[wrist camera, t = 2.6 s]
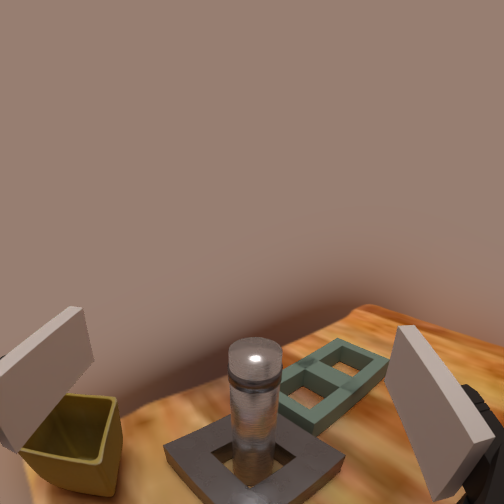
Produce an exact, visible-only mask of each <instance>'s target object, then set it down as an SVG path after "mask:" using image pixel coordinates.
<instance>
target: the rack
mask: <svg viewBox="0 0 504 504" xmlns="http://www.w3.org/2000/svg"><path fill="white" fill-rule="evenodd" d="M339 361H340V362H342V363H345V364H347V365H349V366H351V367H353V368H355V369H358V370H360V372H358V373H357V374H356V375H355V376H353V377H351V376H349V375H347V374H345V373H343V372H341V371H339V370H337V369H334V368H332V366H333V365H335V364H336V363H338V362H339ZM389 361H390V359H387V358H385V357H382V356H380V355H377V354H375V353H372V352H370V351H368V350H365V349H363V348H360V347H358V346H356V345H353V344H351V343H348V342H346V341H344V340H341V339H339V338H336V339H335V340H333V341H331V342H330V343H328V344H327V345H325V346H323V347H322V348H320V349H318V350H317V351H315V352H313V353H311V354H310V355H308V356H306V357H305V358H303V359H301V360H299V361H298V362H296V363H294V364H292V365H290V366H289V367H287V368H285V369H283V370H282V380H281V383H280V391H279V404H278V413H279V414H281V415H282V416H284V417H285V418H287V419H288V420H290V421H291V422H293V423H294V424H296V425H297V426H299V427H300V428H302V429H303V430H305V431H307V432H308V433H310V434H311V435H313V436H315V437H317V436H318V435H319V434H320V433H322V432H323V431H324V430H325V429H327V428H328V427H329V426H330V425H332V424H333V423H334V422H335V421H336V420H338V419H339V418H340V417H341V416H342V415H344V414H345V413H346V412H347V411H348V410H349V409H350V408H352V407H353V406H354V405H355V404H356V403H357V402H358V401H359V400H361V399H362V398H363V397H364V396H365V395H366V394H367V393H368V392H369V391H370V390H371V389H372V388H374V387H375V386H376V385H377V384H378V383H379V382H380V381H381V380H382V379H383V378H384V377H385V376H386V372H387V369H388V365H389ZM302 386H305V387H306V388H308V389H310V390H312V391H313V392H315V393H317V394H319V395H321V396H322V397H324V398H325V399H324V400H322V401H321V402H320V403H318V404H317V405H316V406H314V407H313V408H311V409H310V410H309V409H308V408H306V407H304V406H303V405H301V404H299V403H298V402H296V401H295V400H293V399H291V398H290V397H288V396H287V395H289V394H290V393H292V392H294V391H295V390H297V389H298V388H300V387H302Z"/></svg>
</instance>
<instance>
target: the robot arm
mask: <svg viewBox="0 0 504 504" xmlns="http://www.w3.org/2000/svg"><path fill="white" fill-rule="evenodd" d="M93 362H94V358H93V353H92V349H91V345H90V340H89V335H88V331H87V326H86V321H85V316H84V311H83V308H79V307H73V306H69V307H68V308H66V309H65V310H64V311H63V312H61V313H60V314H58V315H57V316H56V317H54V318H53V319H52V320H50V321H49V322H48V323H47V324H45V325H44V326H43V327H41V328H40V329H39V330H37V331H36V332H35V333H34V334H32V335H31V336H30V337H28V338H27V339H26V340H25V341H23V342H22V343H21V344H19V345H18V346H17V347H16V348H15V349H13V350H12V351H11V352H10V353H8V354H6V355H4V356H2V357H1V358H0V442H1V444H2V445H3V447H5V448H7V449H9V450H11V451H12V452H14V453H16V454H17V453H18V452H19V451H20V449H21V448H22V447H23V446H24V444H25V443H26V442H27V440H28V439H29V438H30V437H31V436H32V434H33V433H34V432H35V431H36V429H37V428H38V427H39V426H40V424H41V423H42V422H43V421H44V420H45V418H46V417H47V416H48V415H49V413H50V412H51V411H52V410H53V409H54V407H55V406H56V405H57V404H58V403H59V402H60V400H61V399H62V398H63V397H64V396H65V394H66V393H67V392H68V391H69V390H70V388H71V387H72V386H73V385H74V384H75V383H76V381H77V380H78V379H79V378H80V377H81V376H82V375H83V373H84V372H85V371H86V370H87V369H88V367H89V366H90V365H91V364H92V363H93ZM384 382H385V384H386V387H387V389H388V391H389V393H390V396H391V398H392V400H393V403H394V405H395V407H396V409H397V412H398V414H399V416H400V419H401V421H402V424H403V426H404V428H405V431H406V433H407V436H408V438H409V441H410V443H411V445H412V448H413V450H414V453H415V455H416V458H417V461H418V463H419V466H420V468H421V471H422V474H423V476H424V479H425V481H426V484H427V487H428V490H429V492H430V495H431V498H432V501H433V502H435V501H438V500H442V499H445V498H449V497H452V496H454V495H455V494H456V492H457V491H458V490H459V489H460V487H461V486H462V485H463V487H464V490H465V492H466V493H465V494H464V495H463V496H462V498H461V499H460V500H459V501H458V502H457V503H456V504H504V428H503V426H502V425H501V423H500V422H499V421H498V419H497V418H496V416H495V415H494V414H493V412H492V411H490V408H489V407H488V405H487V404H486V403H484V400H483V398H482V397H481V396H480V394H479V393H478V392H477V391H476V390H474V389H473V388H471V387H470V386H469V385H467V384H465V385H460V384H459V383H458V382H457V380H456V379H455V377H454V376H453V375H452V373H451V372H450V371H449V369H448V368H447V367H446V365H445V364H444V363H443V361H442V360H441V359H440V357H439V356H438V355H437V353H436V352H435V351H434V350H433V348H432V347H431V346H430V344H429V343H428V342H427V341H426V339H425V338H424V337H423V335H422V334H421V333H420V332H419V330H418V329H417V328H416V327H415V325H408V326H398V328H397V332H396V337H395V341H394V345H393V349H392V353H391V357H390V361H389V365H388V369H387V372H386V376H385V379H384Z"/></svg>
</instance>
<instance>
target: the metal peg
mask: <svg viewBox="0 0 504 504" xmlns="http://www.w3.org/2000/svg"><path fill="white" fill-rule="evenodd" d="M282 368H283V365H282V348H281V346H280V345H279V344H278V343H276V342H274V341H272V340H270V339H266V338H259V337H250V338H244V339H240V340H238V341H236V342H234V343H233V344H232V345H231V346H230V348H229V363H228V380H229V383H230V406H231V430H232V452H233V471H234V475H235V476H236V477H237V478H238V479H239V480H240V481H242V482H243V483H244V484H245V485H247V486H255V485H257V484H258V483H260V482H261V481H263V480H265V479H266V478H268V477H269V476H271V475H272V469H273V459H274V449H275V438H276V427H277V416H278V404H279V391H280V383H281V380H282Z"/></svg>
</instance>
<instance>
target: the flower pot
mask: <svg viewBox="0 0 504 504" xmlns="http://www.w3.org/2000/svg"><path fill="white" fill-rule="evenodd" d="M122 444H123V434H122V427H121V421H120V416H119V409H118V404H117V399H116V398H115V397H110V396H96V395H82V394H72V393H66V394H65V396H64V397H63V398H62V399H61V400H60V402H59V403H58V404H57V405H56V406H55V407H54V409H53V410H52V411H51V412H50V413H49V415H48V416H47V417H46V418H45V420H44V421H43V422H42V423H41V424H40V426H39V427H38V428H37V429H36V431H35V432H34V433H33V434H32V436H31V437H30V438H29V439H28V440H27V442H26V443H25V444H24V446H23V447H22V448H21V449H20V451H19V452H18V453H19V454H20V455H21V457H22V458H23V459H24V460H25V461H26V462H27V463H28V464H29V465H30V467H31V468H32V469H33V470H34V471H35V472H36V473H37V474H38V475H39V476H41V477H42V478H43V479H44V480H46V481H47V482H49V483H51V484H53V485H55V486H57V487H60V488H63V489H66V490H70V491H74V492H79V493H85V494H91V495H97V496H104V497H111V496H113V495H114V493H115V487H116V480H117V474H118V468H119V462H120V457H121V452H122Z"/></svg>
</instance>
